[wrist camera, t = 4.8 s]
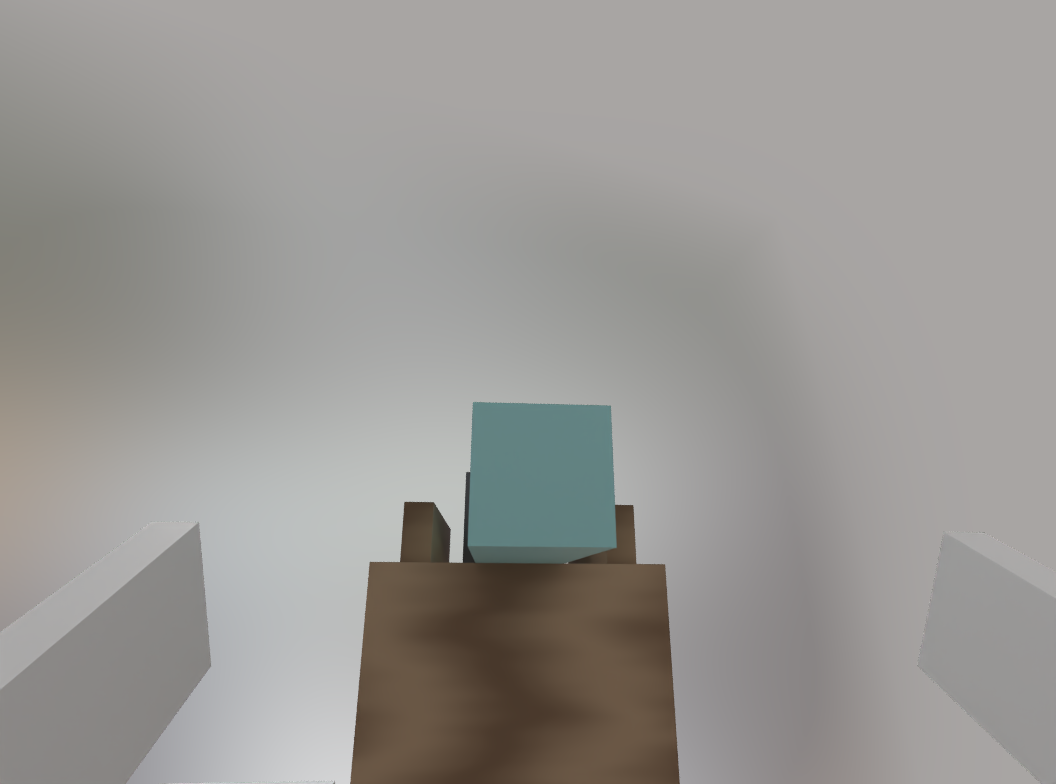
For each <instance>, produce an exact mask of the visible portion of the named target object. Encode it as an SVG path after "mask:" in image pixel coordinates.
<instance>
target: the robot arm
mask: <svg viewBox="0 0 1056 784" xmlns="http://www.w3.org/2000/svg"><path fill="white" fill-rule="evenodd" d="M917 666H918V667H919V668H920V669H921V670H922V671H923V672H924V673H925V674H926V675H927V676H928V677H929V678H931V679H932V680H933V681H934V682H935V683H936V684H937V685H938V686H939V687H940V688H941V689H942V690H943V691H944V692H945V693H946V694H947V695H948V696H949V697H950V698H952V699H953V700H954V701H955V702H956V703H957V704H958V705H959V706H960V707H961V708H962V709H963V710H964V711H965V712H966V713H967V714H968V715H970V717H972V718H973V719H974V720H975V721H976V722H977V723H978V724H979V725H980V726H981V727H982V728H983V729H984V730H985V731H986V732H987V733H989V735H990V736H991V737H992V738H994V739H995V740H996V741H997V742H998V743H999V744H1000V745H1001V746H1002V747H1003V748H1004V749H1005V750H1006V751H1007V752H1008V753H1009V754H1011V756H1013V758H1015V759H1016V760H1017V761H1018V762H1019V763H1020V764H1021V765H1022V766H1023V767H1024V768H1025V769H1026V770H1027V771H1028V772H1029V773H1030V774H1031V775H1032V776H1034V777H1035V778H1036V779H1037V780H1038V781H1039V782H1040V783H1041V784H1056V571H1054V570H1052V569H1050V568H1048V567H1047V566H1045V565H1043V564H1041V563H1039V562H1037V561H1036V560H1034V559H1032V558H1030V557H1028V556H1026V555H1025V554H1023V553H1021V552H1019V551H1017V550H1015V549H1014V548H1012V547H1010V546H1008V545H1006V544H1004V543H1003V542H1001V541H999V540H997V539H995V538H993V537H991V536H990V535H988V534H986V533H984V532H944V533H943V538H942V543H941V548H940V553H939V558H938V563H937V568H936V573H935V578H934V584H933V589H932V594H931V599H930V604H929V609H928V614H927V619H926V624H925V629H924V635H923V640H922V645H921V650H920V655H919V660H918V665H917ZM210 667H211V659H210V647H209V635H208V623H207V612H206V601H205V588H204V576H203V565H202V553H201V542H200V531H199V522H151V523H149V524H148V525H147V526H145V527H144V528H143V529H141V530H140V531H138V532H137V533H136V534H134V535H133V536H132V537H130V538H129V539H127V540H126V541H125V542H123V543H122V544H121V545H119V546H118V547H116V548H115V549H114V550H112V551H111V552H110V553H108V554H107V555H105V556H104V557H103V558H101V559H100V560H99V561H97V562H96V563H94V564H93V565H92V566H90V567H89V568H88V569H86V570H85V571H83V572H82V573H81V574H79V575H78V576H77V577H75V578H74V579H72V580H71V581H70V582H68V583H67V584H66V585H64V586H63V587H62V588H60V589H59V590H58V591H56V592H55V593H53V594H52V595H51V596H49V597H48V598H46V599H45V600H44V601H43V602H41V603H40V604H38V605H37V606H36V607H34V608H33V609H31V610H30V611H29V612H27V613H26V614H24V615H23V616H22V617H20V618H19V619H18V620H16V621H15V622H13V623H12V624H11V625H9V626H8V627H7V628H5V629H4V630H3V631H1V632H0V784H126V782H127V781H128V780H129V778H130V777H131V775H132V774H133V773H134V771H135V770H136V769H137V767H138V766H139V765H140V763H141V762H142V760H143V759H144V758H145V756H146V755H147V753H148V752H149V751H150V749H151V748H152V747H153V745H154V744H155V743H156V741H157V740H158V738H159V737H160V736H161V734H162V733H163V731H164V730H165V729H166V727H167V726H168V725H169V723H170V722H171V720H172V719H173V718H174V716H175V715H176V714H177V712H178V711H179V709H180V708H181V707H182V705H183V704H184V702H185V701H186V700H187V698H188V697H189V695H190V694H191V693H192V692H193V690H194V689H195V687H196V686H197V685H198V683H199V682H200V681H201V679H202V678H203V676H204V675H205V674H206V672H207V671H208V669H209V668H210Z"/></svg>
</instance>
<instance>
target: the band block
mask: <svg viewBox="0 0 1056 784" xmlns="http://www.w3.org/2000/svg"><path fill="white" fill-rule="evenodd" d="M170 784H335V781H306V782H240V783H238V782H237V783H170Z"/></svg>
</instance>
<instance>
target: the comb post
mask: <svg viewBox="0 0 1056 784" xmlns="http://www.w3.org/2000/svg"><path fill="white" fill-rule="evenodd" d="M615 519H616V543H617V548H614V549H610V550H607V551H604V552H600V553H597V554H594V555H591V556H587V557H584V558H581V559H577V560H574V561H571V562H568V564H551V563H449V552H450V530H451V529H450V528H449V526H448V525H447V523H446V522H445V520H444V518H443V516H442V515H441V513H440V512H439V510H438V508H437V507H436V505H435V504H434V502H405V503H404V517H403V531H402V544H401V558H400V562H370V566H369V578H368V589H367V601H366V611H365V623H364V634H363V646H362V657H361V669H360V680H359V691H358V702H357V714H356V726H355V737H354V748H353V749H354V750H353V760H352V772H351V782H350V784H680V783H679V768H678V753H677V737H676V723H675V708H674V692H673V678H672V677H673V676H672V663H671V647H670V631H669V617H668V603H667V587H666V572H665V565H663V564H636V549H635V529H634V509H633V505H615Z"/></svg>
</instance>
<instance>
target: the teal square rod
mask: <svg viewBox="0 0 1056 784" xmlns="http://www.w3.org/2000/svg"><path fill="white" fill-rule="evenodd" d="M471 443H472V444H471V468H470V472H467V473H466V493H465V519H464V546H463V563H551V564H564V563H567V562H571V561H574V560H577V559H581V558H584V557H587V556H591V555H594V554H597V553H600V552H604V551H607V550H610V549H614V548H617V543H616V519H615V495H614V472H613V447H612V423H611V406H601V405H564V404H563V405H562V404H561V405H560V404H525V403H484V402H473V414H472V441H471Z"/></svg>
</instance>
